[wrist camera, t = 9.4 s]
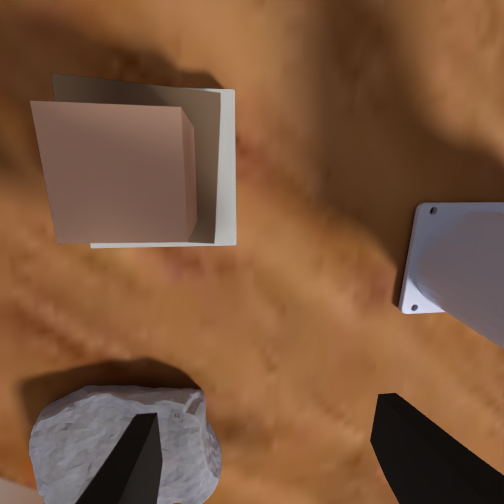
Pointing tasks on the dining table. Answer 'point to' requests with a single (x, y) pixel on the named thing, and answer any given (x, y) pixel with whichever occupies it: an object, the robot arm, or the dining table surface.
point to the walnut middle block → (191, 101)
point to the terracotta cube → (117, 171)
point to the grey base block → (225, 185)
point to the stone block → (110, 431)
